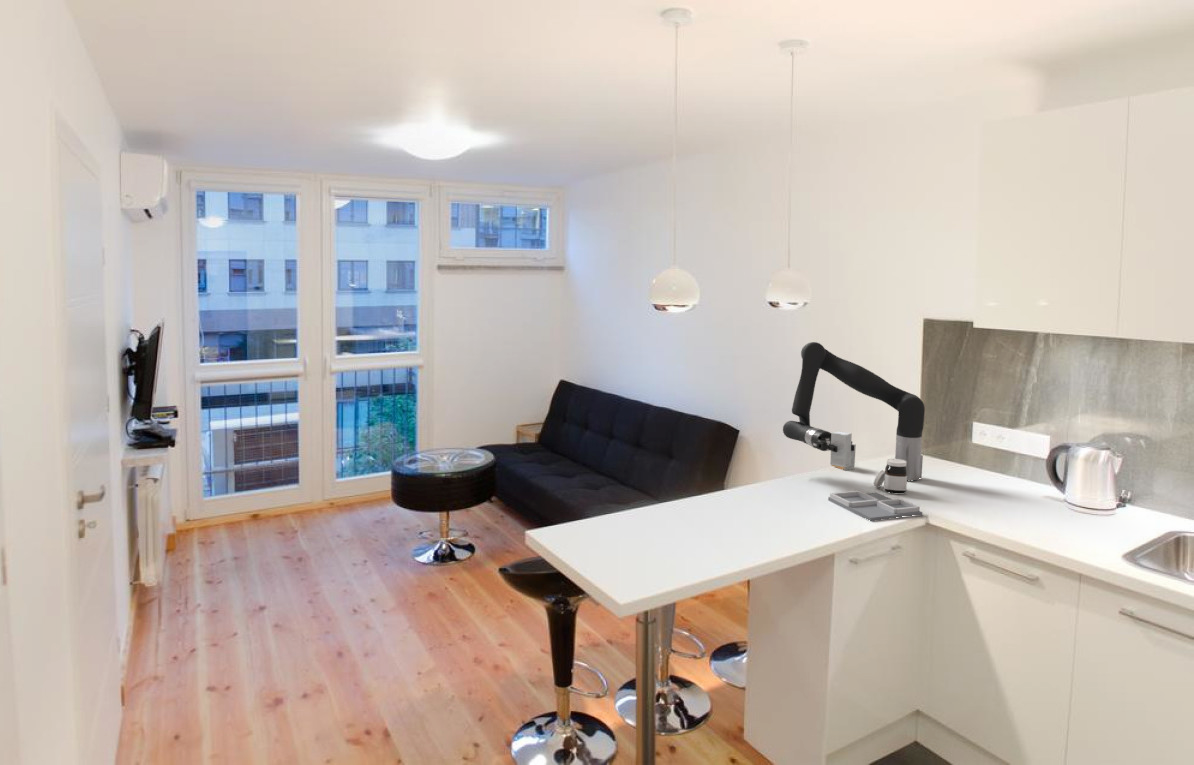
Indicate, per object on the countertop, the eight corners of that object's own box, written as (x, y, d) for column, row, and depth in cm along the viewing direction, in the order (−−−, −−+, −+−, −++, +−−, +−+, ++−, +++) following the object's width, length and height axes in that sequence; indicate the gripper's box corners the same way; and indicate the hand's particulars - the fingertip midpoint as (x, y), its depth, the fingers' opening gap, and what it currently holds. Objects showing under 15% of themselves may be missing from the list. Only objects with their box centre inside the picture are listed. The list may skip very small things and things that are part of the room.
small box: (830, 466, 310) (831, 441, 309) (841, 464, 313) (842, 440, 311) (844, 470, 303) (845, 445, 302) (854, 469, 305) (856, 444, 304)
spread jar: (907, 496, 267) (909, 464, 266) (874, 493, 271) (875, 462, 269) (904, 487, 279) (906, 457, 277) (872, 484, 282) (874, 455, 280)
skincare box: (850, 465, 268) (852, 433, 266) (845, 467, 265) (846, 435, 263) (835, 462, 272) (836, 430, 270) (829, 464, 269) (831, 432, 267)
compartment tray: (876, 495, 268) (876, 488, 268) (922, 515, 245) (922, 507, 245) (828, 500, 263) (828, 492, 262) (870, 521, 240) (870, 513, 239)
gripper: (802, 430, 278) (827, 440, 262) (836, 428, 282) (862, 437, 266) (802, 449, 279) (827, 460, 264) (835, 447, 283) (861, 457, 267)
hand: (845, 448), depth 265 cm, fingers closed on skincare box, 6 cm apart
